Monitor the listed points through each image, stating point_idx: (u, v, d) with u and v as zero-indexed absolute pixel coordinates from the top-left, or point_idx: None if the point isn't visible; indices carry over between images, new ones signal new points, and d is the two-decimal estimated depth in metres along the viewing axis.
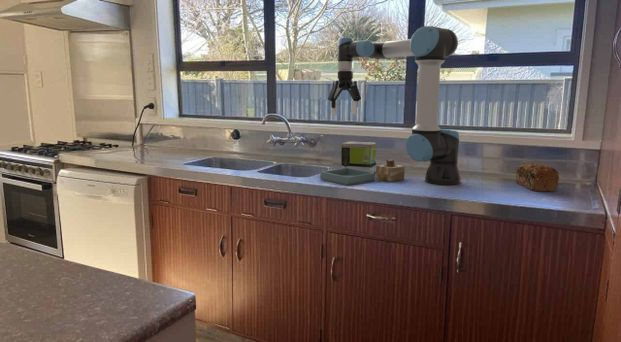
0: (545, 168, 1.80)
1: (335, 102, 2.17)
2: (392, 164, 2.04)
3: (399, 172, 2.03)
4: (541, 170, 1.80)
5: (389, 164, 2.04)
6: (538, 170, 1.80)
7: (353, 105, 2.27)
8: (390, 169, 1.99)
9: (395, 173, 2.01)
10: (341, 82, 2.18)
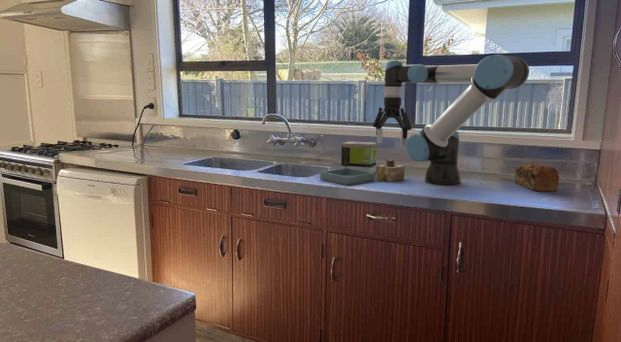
0: (545, 168, 1.80)
1: None
2: (392, 164, 2.04)
3: (399, 172, 2.03)
4: (541, 170, 1.80)
5: (389, 164, 2.04)
6: (539, 170, 1.80)
7: None
8: (390, 169, 1.99)
9: (395, 173, 2.01)
10: (384, 109, 2.03)
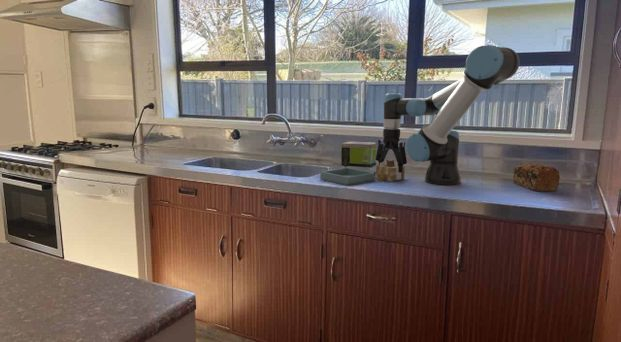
0: (546, 168, 1.80)
1: (380, 163, 2.08)
2: (392, 164, 2.04)
3: None
4: (543, 170, 1.80)
5: (389, 164, 2.04)
6: (540, 170, 1.80)
7: None
8: (390, 169, 1.99)
9: (395, 173, 2.01)
10: (384, 140, 2.05)
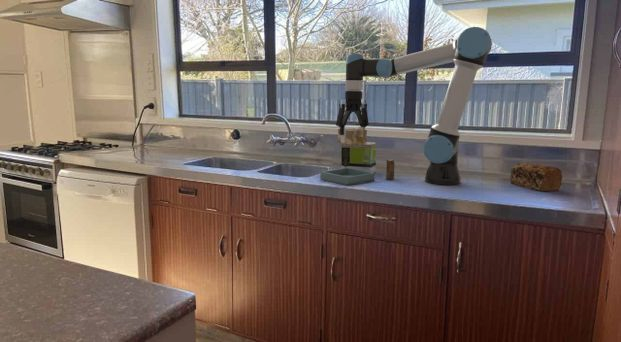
0: (551, 168, 1.81)
1: (344, 129, 1.96)
2: (392, 164, 2.04)
3: None
4: (548, 170, 1.80)
5: (389, 164, 2.04)
6: (545, 170, 1.80)
7: None
8: (365, 131, 1.98)
9: None
10: (348, 104, 1.95)
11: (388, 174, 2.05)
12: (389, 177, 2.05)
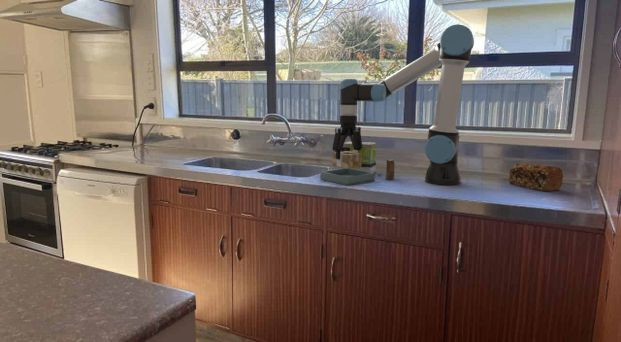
0: (553, 168, 1.81)
1: (340, 153, 1.96)
2: (392, 164, 2.04)
3: None
4: (551, 170, 1.80)
5: (389, 164, 2.04)
6: (548, 170, 1.80)
7: None
8: (360, 155, 2.00)
9: None
10: (344, 128, 1.96)
11: (388, 174, 2.05)
12: (389, 177, 2.05)
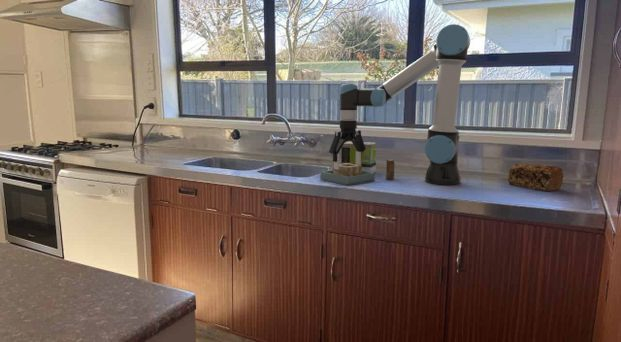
0: (554, 167, 1.81)
1: (337, 155, 1.95)
2: (392, 164, 2.04)
3: None
4: (553, 170, 1.80)
5: (389, 164, 2.04)
6: (551, 170, 1.80)
7: (357, 156, 2.05)
8: (360, 167, 2.01)
9: None
10: (344, 133, 1.96)
11: (388, 174, 2.05)
12: (389, 177, 2.05)
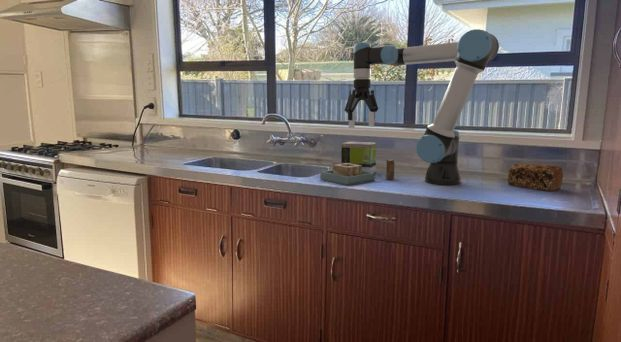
0: (556, 167, 1.82)
1: (352, 114, 1.97)
2: (392, 164, 2.04)
3: None
4: (555, 170, 1.81)
5: (389, 164, 2.04)
6: (553, 170, 1.80)
7: (370, 116, 2.07)
8: (360, 167, 2.01)
9: None
10: (358, 91, 1.98)
11: (388, 174, 2.05)
12: (389, 177, 2.05)
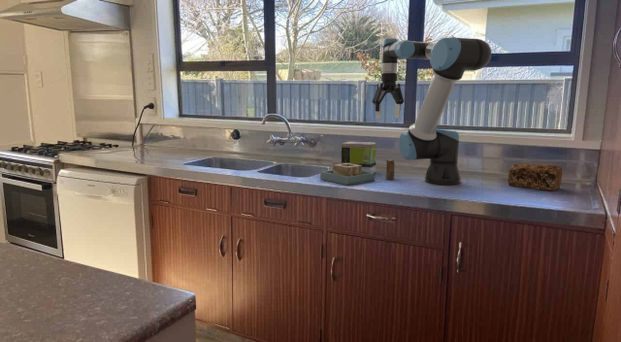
0: (557, 167, 1.83)
1: (379, 105, 2.10)
2: (392, 164, 2.04)
3: None
4: (557, 169, 1.82)
5: (389, 164, 2.04)
6: (555, 170, 1.81)
7: (396, 108, 2.20)
8: (360, 167, 2.01)
9: None
10: (385, 84, 2.10)
11: (388, 174, 2.05)
12: (389, 177, 2.05)
